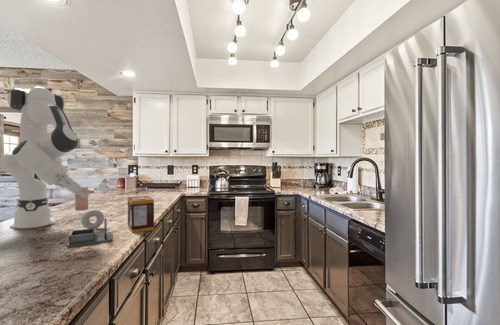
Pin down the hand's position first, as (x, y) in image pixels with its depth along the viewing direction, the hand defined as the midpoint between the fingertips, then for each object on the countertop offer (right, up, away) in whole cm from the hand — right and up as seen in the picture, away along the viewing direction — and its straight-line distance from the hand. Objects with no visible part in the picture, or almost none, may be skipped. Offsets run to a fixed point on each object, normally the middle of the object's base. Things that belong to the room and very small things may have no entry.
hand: (83, 196), depth 113 cm
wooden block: (0, -6, 0) cm, 6 cm away
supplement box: (+16, -20, +22) cm, 33 cm away
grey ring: (-8, -19, +19) cm, 29 cm away
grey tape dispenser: (+2, -19, +2) cm, 20 cm away
